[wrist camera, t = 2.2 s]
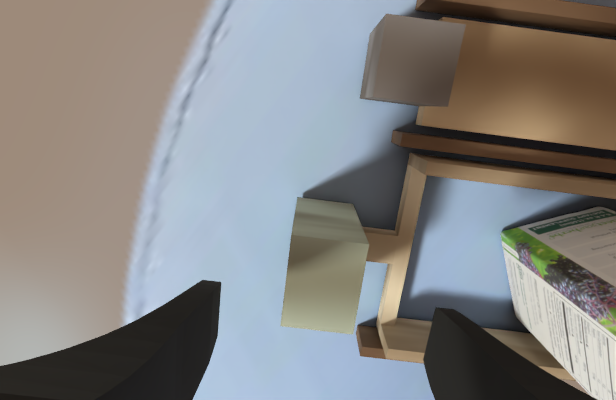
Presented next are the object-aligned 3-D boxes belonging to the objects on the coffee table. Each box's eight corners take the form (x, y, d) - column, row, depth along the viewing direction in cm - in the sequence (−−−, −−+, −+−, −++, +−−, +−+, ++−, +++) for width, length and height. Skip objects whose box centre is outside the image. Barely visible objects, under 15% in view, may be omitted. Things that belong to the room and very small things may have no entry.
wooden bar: (683, 158, 19) (780, 173, 15) (356, 116, 18) (368, 120, 14) (722, 60, 17) (839, 47, 14) (373, 13, 17) (390, -14, 13)
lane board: (626, 365, 22) (656, 390, 20) (355, 333, 22) (360, 356, 20) (760, 42, 18) (815, 35, 16) (417, -4, 17) (431, -18, 15)
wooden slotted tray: (607, 351, 22) (710, 437, 16) (283, 313, 21) (273, 388, 16) (672, 186, 19) (823, 220, 13) (304, 139, 19) (301, 154, 13)
